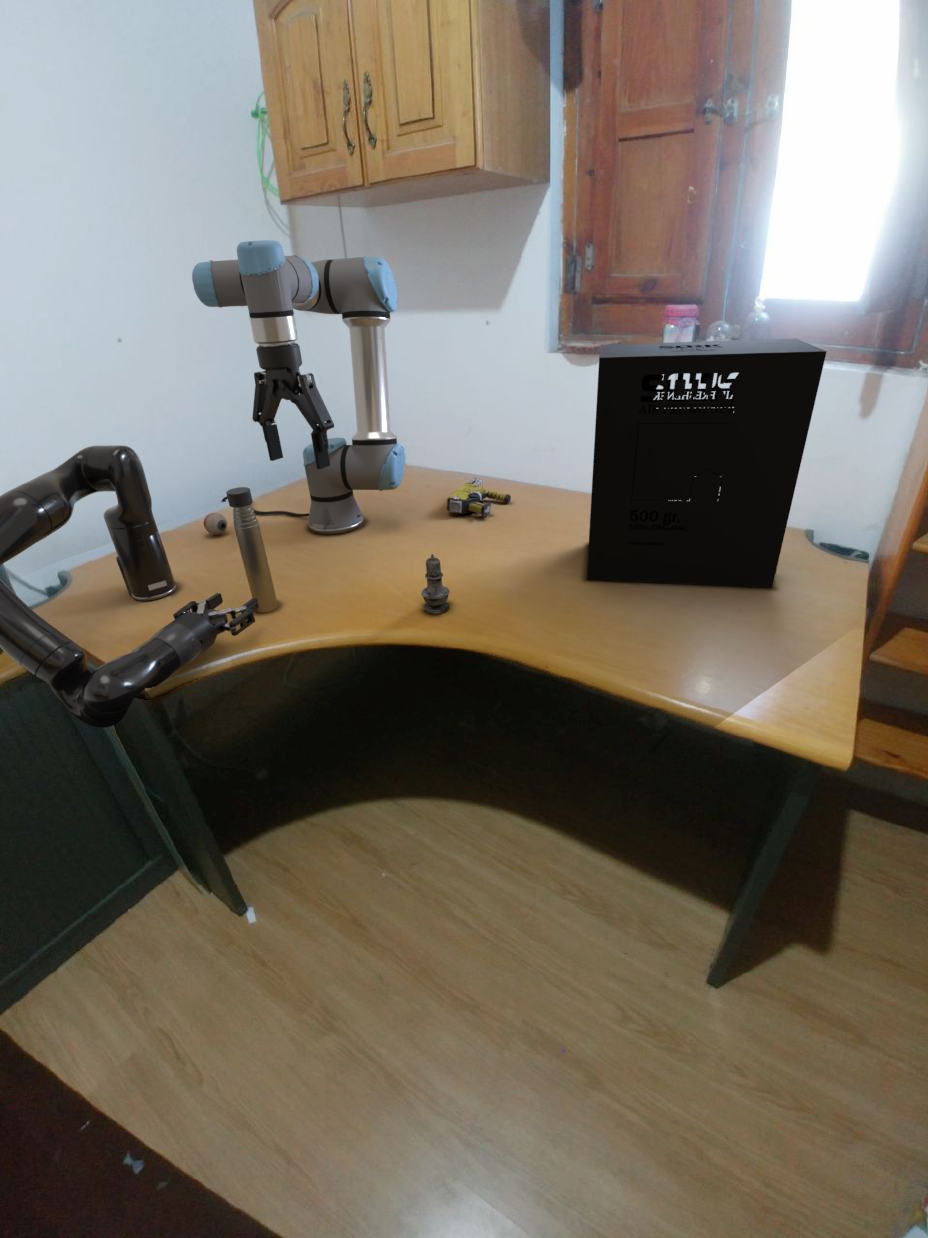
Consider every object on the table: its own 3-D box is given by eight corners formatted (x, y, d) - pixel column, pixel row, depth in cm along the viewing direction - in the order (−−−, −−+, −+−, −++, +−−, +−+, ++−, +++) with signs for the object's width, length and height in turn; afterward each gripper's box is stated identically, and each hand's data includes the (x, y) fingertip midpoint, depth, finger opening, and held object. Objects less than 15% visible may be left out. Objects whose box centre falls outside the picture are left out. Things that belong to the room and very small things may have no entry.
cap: (244, 508, 115) (241, 494, 114) (224, 507, 116) (221, 493, 115) (257, 500, 119) (254, 487, 117) (237, 499, 120) (234, 486, 118)
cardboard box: (752, 548, 142) (795, 338, 119) (772, 587, 124) (826, 351, 102) (589, 543, 149) (600, 344, 127) (586, 579, 132) (599, 357, 110)
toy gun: (519, 482, 184) (472, 475, 188) (496, 505, 164) (445, 497, 168) (517, 497, 186) (471, 490, 190) (495, 522, 166) (444, 513, 170)
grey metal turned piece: (447, 614, 122) (443, 560, 116) (419, 613, 123) (413, 559, 117) (453, 601, 127) (450, 548, 121) (426, 599, 128) (421, 547, 122)
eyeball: (217, 539, 164) (211, 518, 161) (202, 535, 167) (196, 515, 164) (234, 532, 168) (229, 511, 166) (220, 528, 172) (214, 508, 169)
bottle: (270, 613, 126) (242, 496, 114) (251, 611, 127) (220, 496, 115) (282, 603, 130) (255, 489, 118) (262, 601, 131) (234, 488, 119)
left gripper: (155, 653, 110) (213, 611, 124) (219, 665, 106) (272, 620, 119) (142, 618, 107) (204, 578, 120) (208, 629, 102) (265, 586, 116)
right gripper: (342, 342, 103) (359, 465, 113) (250, 340, 116) (273, 451, 126) (308, 347, 97) (330, 476, 108) (216, 344, 110) (243, 460, 121)
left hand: (238, 599), depth 120 cm, fingers open, 8 cm apart
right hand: (299, 463), depth 117 cm, fingers open, 13 cm apart
